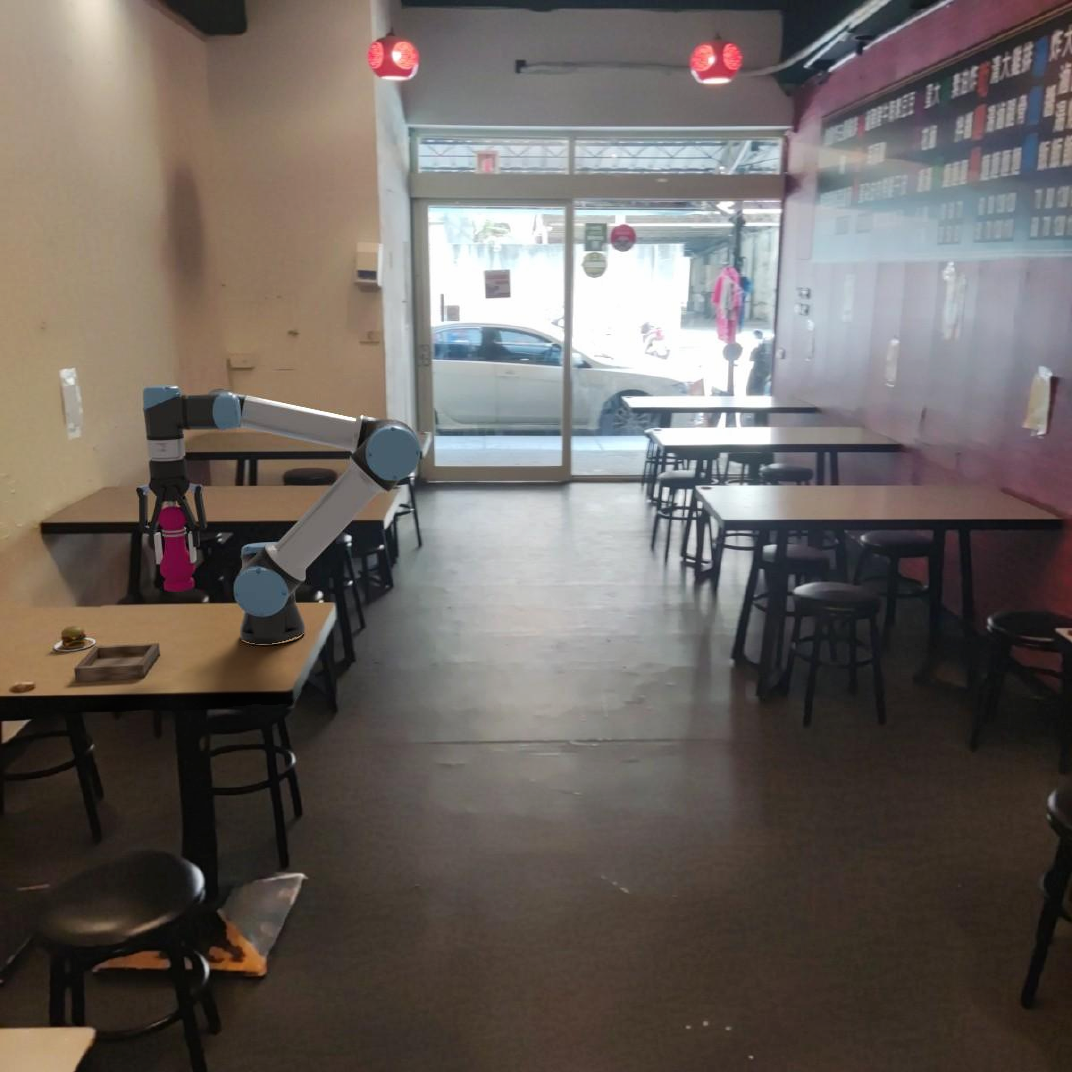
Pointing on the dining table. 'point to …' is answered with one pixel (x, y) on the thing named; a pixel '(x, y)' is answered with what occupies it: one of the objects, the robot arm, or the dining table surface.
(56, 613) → the dining table surface
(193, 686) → the dining table surface
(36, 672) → the dining table surface
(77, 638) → the hamburger
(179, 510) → the pepper mill
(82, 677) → the walnut tray
